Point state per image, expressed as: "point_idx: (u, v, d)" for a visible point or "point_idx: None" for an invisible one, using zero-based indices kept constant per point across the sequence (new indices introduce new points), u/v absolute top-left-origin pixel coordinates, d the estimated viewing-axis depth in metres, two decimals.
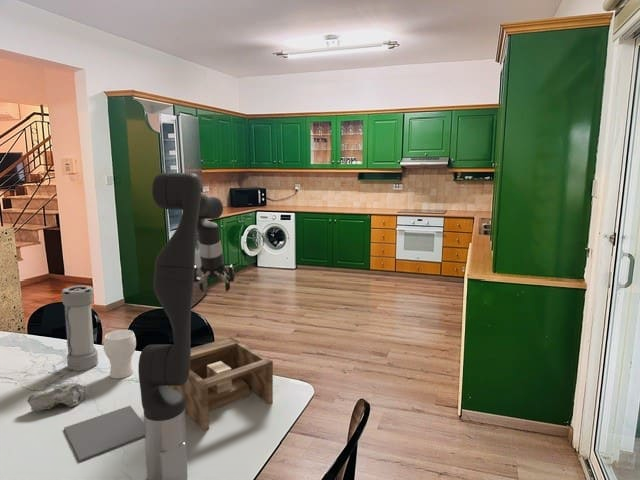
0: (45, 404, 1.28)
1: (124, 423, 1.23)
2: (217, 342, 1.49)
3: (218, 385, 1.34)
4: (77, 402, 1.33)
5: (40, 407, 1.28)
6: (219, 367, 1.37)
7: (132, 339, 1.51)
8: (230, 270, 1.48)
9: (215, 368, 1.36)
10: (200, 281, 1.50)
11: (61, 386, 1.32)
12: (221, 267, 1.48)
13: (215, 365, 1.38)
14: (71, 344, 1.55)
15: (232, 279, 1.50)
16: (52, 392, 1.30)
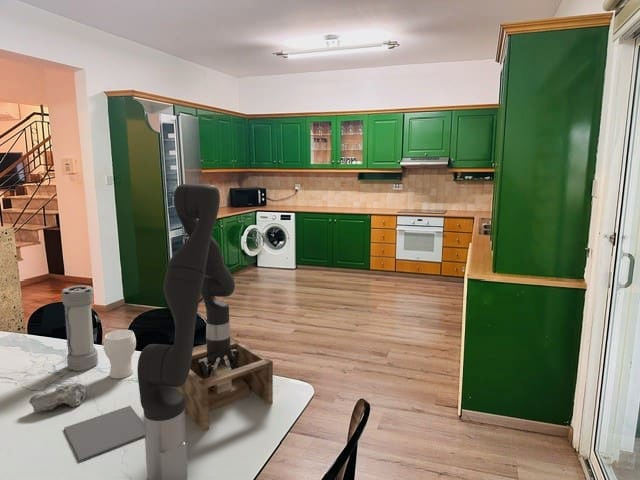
0: (48, 404, 1.28)
1: (124, 423, 1.23)
2: None
3: (218, 385, 1.34)
4: (79, 402, 1.33)
5: (43, 408, 1.27)
6: (219, 367, 1.37)
7: (132, 339, 1.51)
8: (237, 354, 1.40)
9: None
10: (212, 375, 1.34)
11: (63, 386, 1.32)
12: (229, 350, 1.38)
13: None
14: (71, 344, 1.55)
15: (235, 365, 1.40)
16: (54, 392, 1.30)
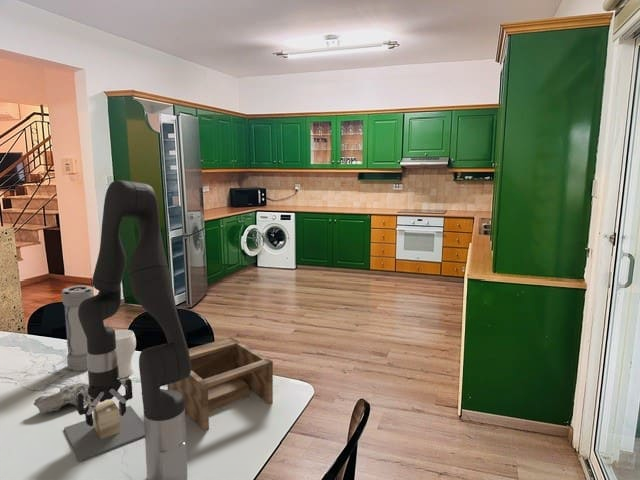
0: (54, 405, 1.27)
1: (124, 423, 1.23)
2: (217, 342, 1.49)
3: (101, 429, 1.16)
4: (85, 401, 1.34)
5: (49, 409, 1.27)
6: (106, 407, 1.19)
7: (132, 339, 1.51)
8: (129, 383, 1.21)
9: (100, 409, 1.18)
10: (89, 411, 1.15)
11: (68, 387, 1.32)
12: (118, 382, 1.19)
13: (102, 405, 1.20)
14: (71, 344, 1.55)
15: (130, 395, 1.22)
16: (60, 393, 1.29)
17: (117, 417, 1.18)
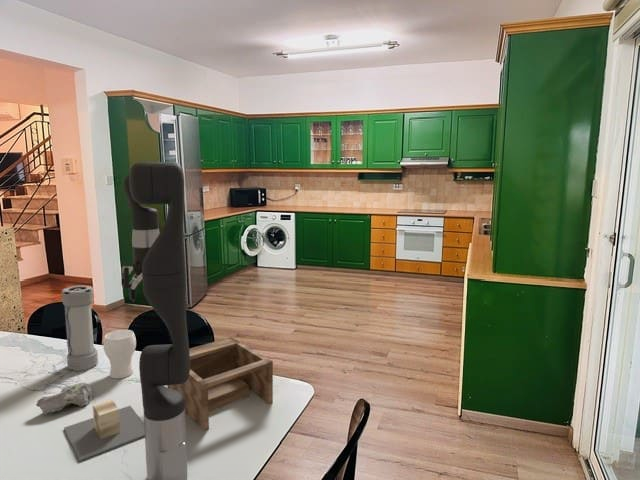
0: (57, 405, 1.27)
1: (124, 423, 1.23)
2: (217, 342, 1.49)
3: (101, 429, 1.16)
4: (87, 401, 1.34)
5: (52, 409, 1.27)
6: (106, 407, 1.19)
7: (132, 339, 1.51)
8: None
9: (100, 409, 1.18)
10: (133, 286, 1.20)
11: (70, 387, 1.32)
12: None
13: (102, 405, 1.20)
14: (71, 344, 1.55)
15: None
16: (63, 393, 1.29)
17: (117, 417, 1.18)
